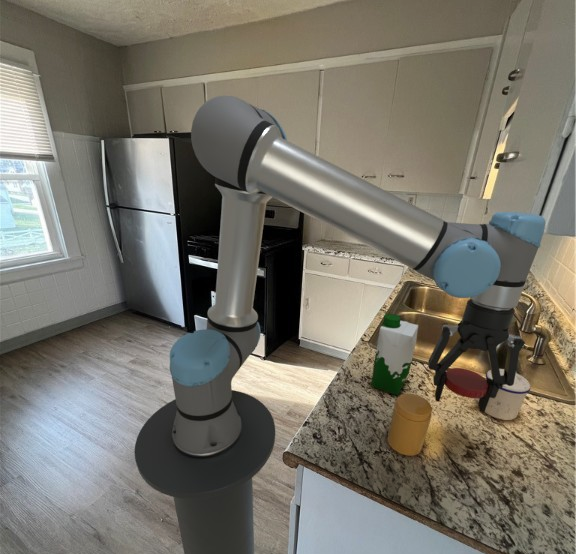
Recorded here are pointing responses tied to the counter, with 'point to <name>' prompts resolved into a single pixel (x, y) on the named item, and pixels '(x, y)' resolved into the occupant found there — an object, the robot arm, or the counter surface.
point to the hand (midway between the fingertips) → (458, 402)
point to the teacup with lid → (507, 398)
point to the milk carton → (394, 353)
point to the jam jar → (409, 424)
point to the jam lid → (466, 383)
